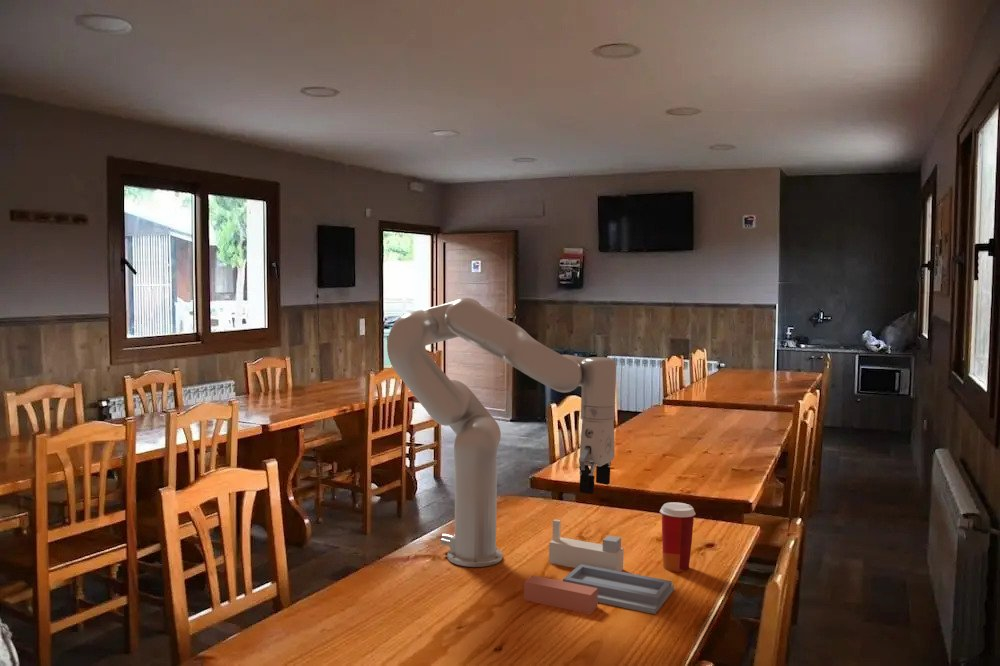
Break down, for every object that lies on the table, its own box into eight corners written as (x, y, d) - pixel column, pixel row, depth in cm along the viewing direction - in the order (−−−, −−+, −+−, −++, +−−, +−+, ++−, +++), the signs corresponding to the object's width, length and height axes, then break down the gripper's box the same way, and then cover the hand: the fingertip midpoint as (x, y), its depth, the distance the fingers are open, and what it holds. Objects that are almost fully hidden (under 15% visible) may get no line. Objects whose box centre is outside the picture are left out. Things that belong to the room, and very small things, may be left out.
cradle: (558, 594, 163) (559, 582, 163) (583, 572, 176) (583, 561, 175) (654, 614, 154) (655, 601, 154) (673, 589, 167) (674, 577, 166)
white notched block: (548, 563, 181) (549, 522, 181) (556, 557, 185) (557, 517, 185) (616, 576, 174) (617, 533, 173) (623, 570, 178) (624, 528, 177)
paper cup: (688, 561, 183) (690, 501, 183) (697, 574, 176) (699, 511, 175) (654, 561, 183) (656, 501, 182) (662, 573, 176) (664, 511, 175)
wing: (524, 601, 160) (524, 581, 160) (532, 594, 164) (532, 575, 163) (590, 615, 154) (590, 595, 154) (597, 608, 157) (597, 588, 157)
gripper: (599, 420, 169) (596, 499, 171) (626, 409, 185) (623, 482, 186) (566, 416, 173) (564, 494, 174) (596, 406, 188) (593, 478, 189)
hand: (594, 488), depth 180 cm, fingers open, 9 cm apart
